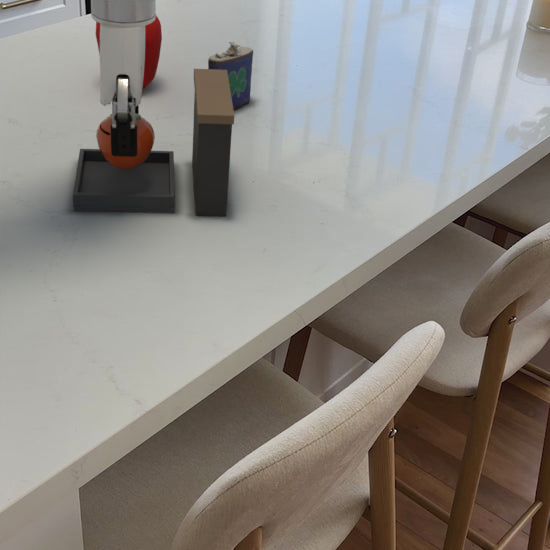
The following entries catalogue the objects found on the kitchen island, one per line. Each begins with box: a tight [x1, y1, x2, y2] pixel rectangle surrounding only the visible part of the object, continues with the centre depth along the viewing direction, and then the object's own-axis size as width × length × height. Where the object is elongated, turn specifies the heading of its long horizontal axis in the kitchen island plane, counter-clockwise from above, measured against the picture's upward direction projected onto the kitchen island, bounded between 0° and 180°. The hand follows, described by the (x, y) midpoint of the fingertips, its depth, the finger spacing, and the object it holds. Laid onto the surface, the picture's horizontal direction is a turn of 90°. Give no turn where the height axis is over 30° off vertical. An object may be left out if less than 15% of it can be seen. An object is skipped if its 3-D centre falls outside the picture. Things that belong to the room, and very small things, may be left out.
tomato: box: [96, 108, 156, 169], centre depth 114 cm, size 7×7×8 cm
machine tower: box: [191, 68, 235, 217], centre depth 116 cm, size 4×14×14 cm, turn 6°
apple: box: [95, 15, 163, 91], centre depth 142 cm, size 11×10×14 cm
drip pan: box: [72, 148, 176, 214], centre depth 118 cm, size 13×13×2 cm
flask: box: [207, 41, 254, 111], centre depth 139 cm, size 9×3×11 cm, turn 139°
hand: (125, 139), depth 114 cm, fingers closed on tomato, 7 cm apart
